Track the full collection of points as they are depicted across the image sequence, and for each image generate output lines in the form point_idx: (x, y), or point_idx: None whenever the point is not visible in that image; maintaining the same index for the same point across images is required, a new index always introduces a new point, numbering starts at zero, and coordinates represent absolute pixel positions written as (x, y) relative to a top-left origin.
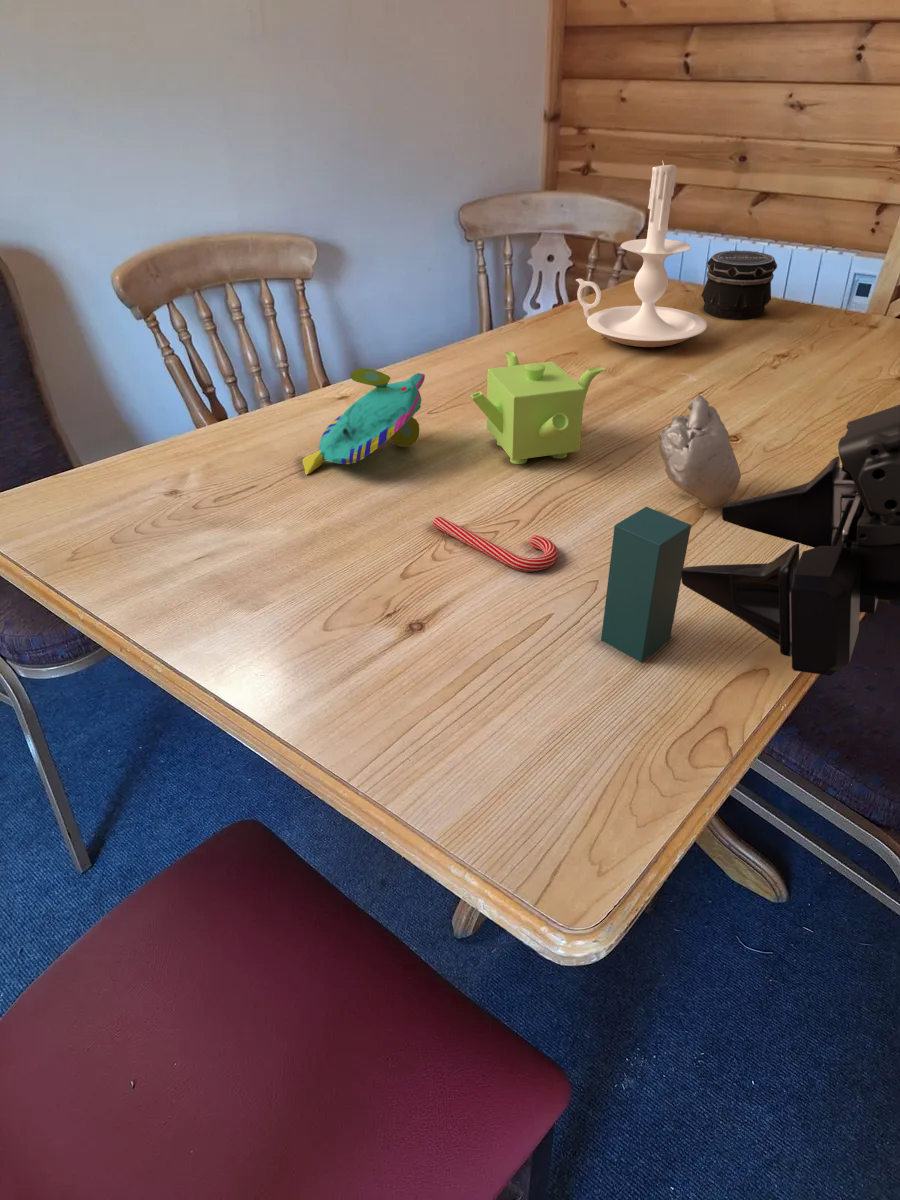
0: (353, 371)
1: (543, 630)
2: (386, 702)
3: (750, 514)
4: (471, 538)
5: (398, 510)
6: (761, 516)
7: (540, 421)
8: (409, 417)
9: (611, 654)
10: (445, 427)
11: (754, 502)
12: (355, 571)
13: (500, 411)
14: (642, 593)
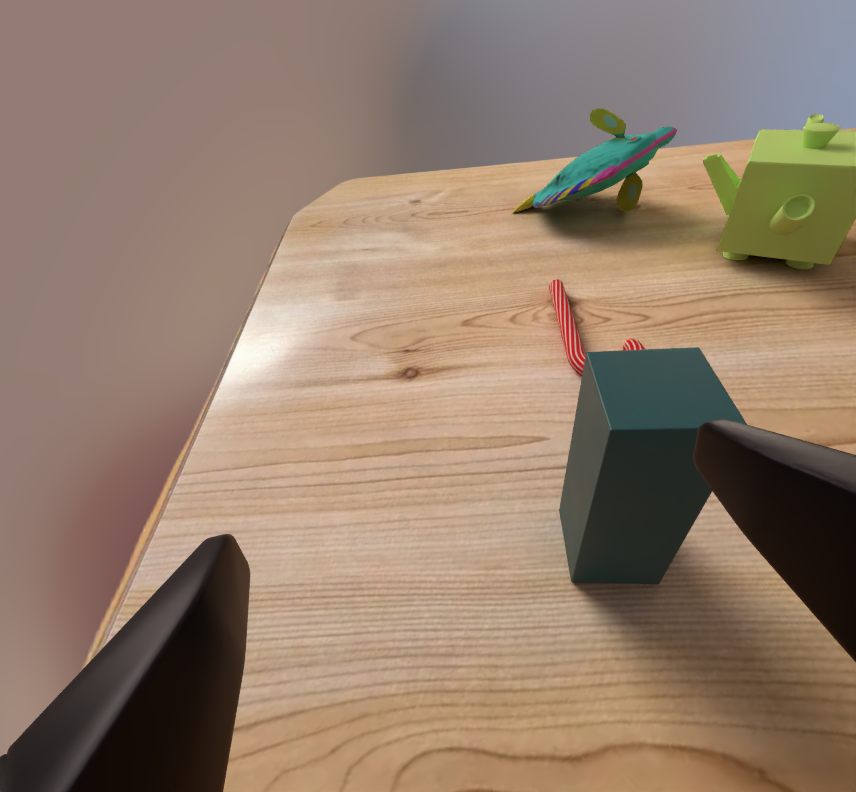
0: (592, 112)
1: (511, 451)
2: (296, 426)
3: (782, 510)
4: (560, 313)
5: (542, 263)
6: (829, 551)
7: (779, 206)
8: (618, 171)
9: (547, 538)
10: (690, 203)
11: (821, 477)
12: (437, 301)
13: (737, 185)
14: (585, 492)
